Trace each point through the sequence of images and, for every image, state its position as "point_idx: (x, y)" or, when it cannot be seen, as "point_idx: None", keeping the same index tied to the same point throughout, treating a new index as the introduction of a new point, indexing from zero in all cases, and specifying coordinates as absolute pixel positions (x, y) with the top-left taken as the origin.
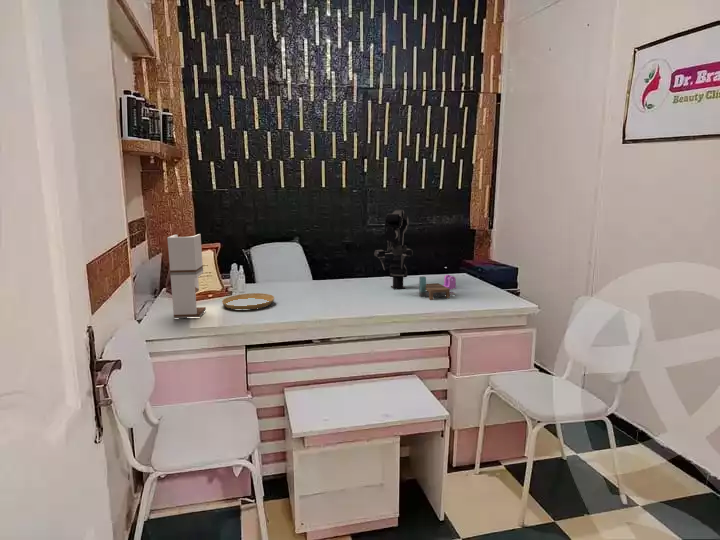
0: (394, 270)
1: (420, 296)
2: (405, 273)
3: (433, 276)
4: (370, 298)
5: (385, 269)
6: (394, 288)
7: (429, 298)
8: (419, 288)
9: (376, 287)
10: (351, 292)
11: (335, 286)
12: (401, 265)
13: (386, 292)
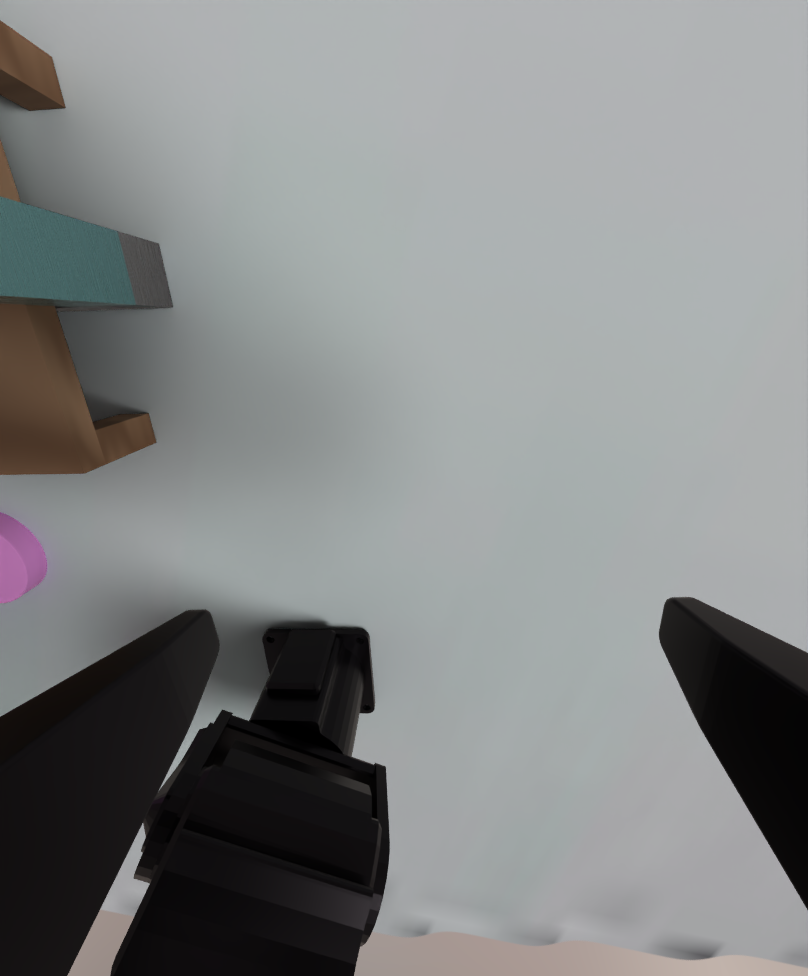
0: (327, 813)
1: (159, 262)
2: (193, 751)
3: None
4: (736, 331)
5: (682, 607)
6: (363, 633)
7: (53, 89)
8: (107, 299)
9: (491, 720)
10: (780, 622)
11: None
12: (169, 724)
13: (467, 547)
